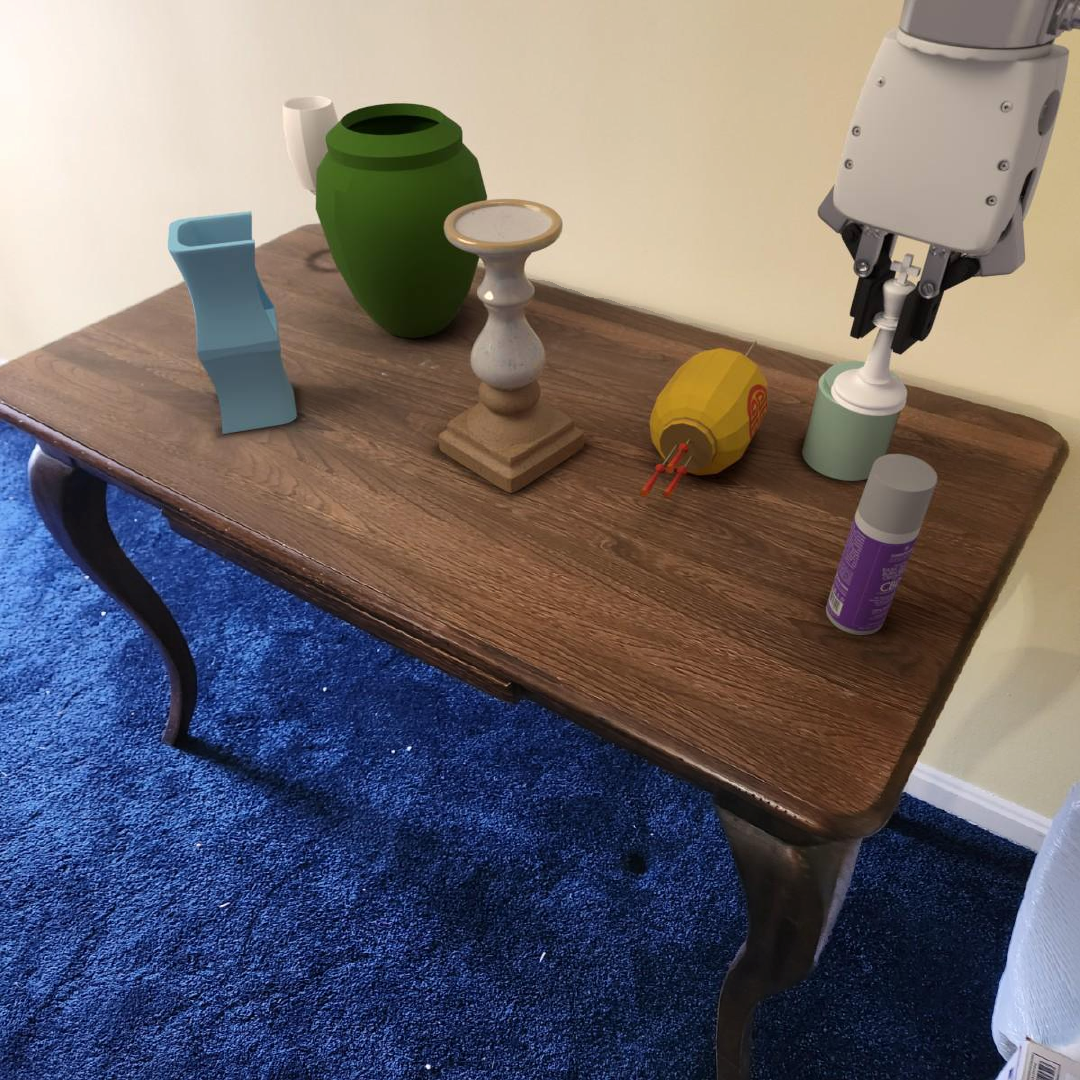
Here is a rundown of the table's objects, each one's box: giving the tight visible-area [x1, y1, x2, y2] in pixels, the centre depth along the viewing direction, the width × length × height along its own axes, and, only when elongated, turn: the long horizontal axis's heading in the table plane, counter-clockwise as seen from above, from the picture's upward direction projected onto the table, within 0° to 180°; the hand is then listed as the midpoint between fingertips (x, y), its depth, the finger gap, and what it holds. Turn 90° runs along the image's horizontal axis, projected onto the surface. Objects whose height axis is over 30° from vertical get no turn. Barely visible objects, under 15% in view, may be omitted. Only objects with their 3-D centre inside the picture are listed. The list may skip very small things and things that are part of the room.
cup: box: [282, 95, 339, 196], centre depth 116 cm, size 7×7×21 cm
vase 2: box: [167, 210, 298, 435], centre depth 88 cm, size 8×8×20 cm
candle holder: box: [438, 198, 585, 494], centre depth 81 cm, size 11×11×24 cm
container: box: [825, 453, 938, 636], centre depth 67 cm, size 5×5×15 cm
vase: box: [315, 102, 488, 339], centre depth 101 cm, size 20×20×24 cm
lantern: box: [639, 340, 769, 499], centre depth 85 cm, size 10×10×30 cm
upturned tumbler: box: [801, 360, 903, 482], centre depth 85 cm, size 8×8×9 cm
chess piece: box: [831, 253, 922, 416], centre depth 55 cm, size 5×5×10 cm
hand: (885, 335), depth 56 cm, fingers closed on chess piece
